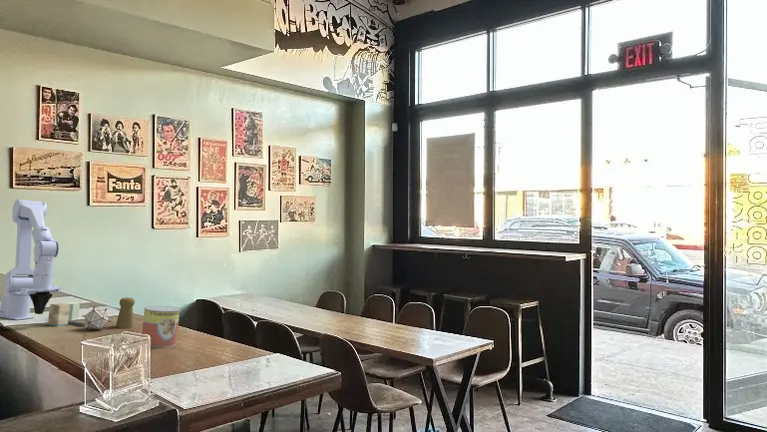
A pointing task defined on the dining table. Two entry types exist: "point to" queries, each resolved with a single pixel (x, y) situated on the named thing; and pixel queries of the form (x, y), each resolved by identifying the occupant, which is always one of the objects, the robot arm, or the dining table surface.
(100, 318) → the game die
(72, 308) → the sage block
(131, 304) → the cork
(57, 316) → the birch block
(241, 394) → the dining table surface
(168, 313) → the canned food
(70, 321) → the rubber trip strip
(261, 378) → the dining table surface
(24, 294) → the robot arm
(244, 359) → the dining table surface
